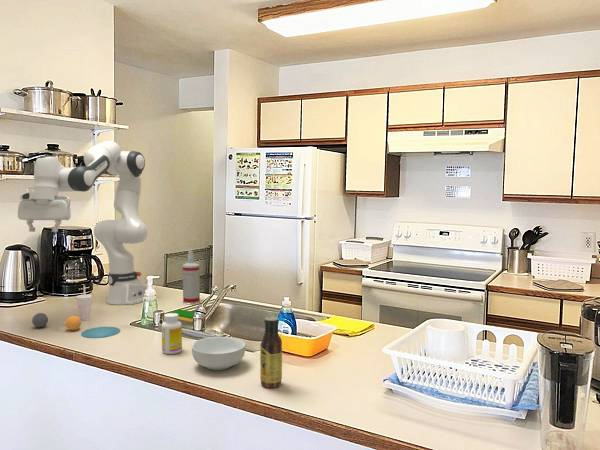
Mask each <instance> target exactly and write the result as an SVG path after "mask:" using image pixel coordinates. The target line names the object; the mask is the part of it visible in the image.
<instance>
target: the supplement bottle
mask: <svg viewBox="0 0 600 450" xmlns="http://www.w3.org/2000/svg"><path fill="white" fill-rule="evenodd" d="M168 313H169V312H168ZM168 313H166V314H164V321H163V322H162V323H161V351H162V353H164V354H165V355H166V354H167V355H175V354H179V353H181V352H182V350H183V338H182V337H183V333H182V332H183V331H182V328H183V327H182V322H181V321H179V319H178V318H179V316H178V314H176V313H169V314H168Z"/></svg>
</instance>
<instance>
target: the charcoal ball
mask: <svg viewBox="0 0 600 450" xmlns="http://www.w3.org/2000/svg"><path fill="white" fill-rule="evenodd" d="M31 320H32V321H31V322H32V325H33V326H34V327H36V328H43V327H45V326H47V324H48V321H49V317H48V316H47V315H46V313H43V312H38V313H36V314H35V315H34V316H33V317H32V319H31Z"/></svg>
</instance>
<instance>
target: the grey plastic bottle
mask: <svg viewBox="0 0 600 450" xmlns="http://www.w3.org/2000/svg"><path fill="white" fill-rule="evenodd" d="M187 254H188V255H187V262H186V263H184V264H182V296H183V297H182V298H183V299H182V302H184V303H190V304H189V305H197V304H199V303H201V298H200V297H201V295H200V293H201V290H200V288H201V287H200V285H201V284H200V282H201V280H200V277H201V276H200V263H197V262H196V260H195V255H194V250H191V249H190V250H188V253H187ZM184 303H183V304H184ZM196 303H197V304H196Z"/></svg>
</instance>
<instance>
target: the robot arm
mask: <svg viewBox="0 0 600 450" xmlns="http://www.w3.org/2000/svg"><path fill="white" fill-rule="evenodd" d="M35 160H36V161H35V163H34V170H33V171H34V172H33V179H34V184H33V185H32V186H33V187H32V190H31V191H27V192H24V193H21V194H20V195H19V200H21V201H20V202H19V203H18V208H17V218H18V220H22V221H26V224H27V226H28V232H30V233H35V232H36V226H34V225H33V224H34V221H54V223H55V224H54V226H51V232H52V233H57V232H59V227H60V226H61V224H62V221H70V219H71V213H72V212H71V199H70V198H69V197H68V196H66V195H64V196H63V195H61V196H60V195H59V193H61V192H62V193H63V192H68V193H69V192H87V191H90V189H91V188H92V187H93V186H94V184H95V183H96V181H97V179H99V178H100V177H102V175H103V174H105V175H108V176H118V177H119V180H118V183H117V186H116V191H115V197H114V201H113V208H114V210H115V211H116V212H117V213H118V214H121V219H106V220H101V221H98V222H96V223H95V226H94V228H93V234H94V237H95V239H96V241H98V242H99V243H101V245H102V246H103V248H104V249H105V252H106V254H107V257H108V266H109V268H108V269H109V272H108V294H107V298H106V303H107V304H110V305H135V304H139V303H144V302H143V297H144V294H145V290H146V289H147V285H148V284H146V283H145V282H143V281H142V280H140V279H139V278H138V277H141V276H142V273H141V272H140V271H135V261H134V260H135V259H134V255H133V253H132V252H130V251H129V250H127V249H126V248H125V246H124V244H128V245H129V244H138V243H143V242H144V241H145V240H147V236H148V232H149V229H148V227H147V225H146V224H145V223H144V221H142V219H141V217H140V214H139V205H140V204H139V202H140V197H141V189H142V187H141V186H142V177H141V175H142V173H143V172H144V170H145V166H146V160H145V156H144V155H143V154H142V153H141V152H139V151H137V150H136V151H135V150H130V151H129V150H127V151H126V150H123V151H122V150H121V147H120V145H119V144H118V143H117V142H115V141H114V140H104V141H102V142H99V143H97V144H94V145H93V146H91V147H88V149H87V150H86V151H85V152H84V153H83V162H84V164H85V165H83V166H82V165H80V166H73V167H66V166H64V165H62V164H61V162H60V159H59V157H58V156H56V155H42V156H38V157H37V158H36V159H35Z"/></svg>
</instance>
